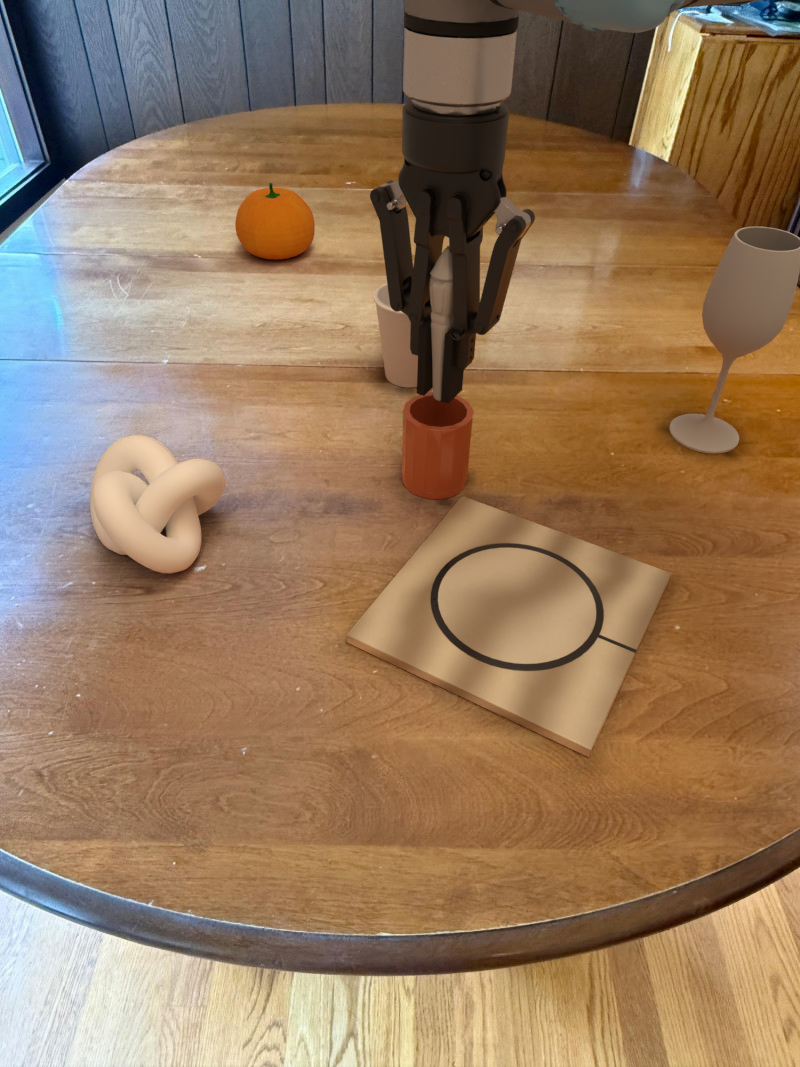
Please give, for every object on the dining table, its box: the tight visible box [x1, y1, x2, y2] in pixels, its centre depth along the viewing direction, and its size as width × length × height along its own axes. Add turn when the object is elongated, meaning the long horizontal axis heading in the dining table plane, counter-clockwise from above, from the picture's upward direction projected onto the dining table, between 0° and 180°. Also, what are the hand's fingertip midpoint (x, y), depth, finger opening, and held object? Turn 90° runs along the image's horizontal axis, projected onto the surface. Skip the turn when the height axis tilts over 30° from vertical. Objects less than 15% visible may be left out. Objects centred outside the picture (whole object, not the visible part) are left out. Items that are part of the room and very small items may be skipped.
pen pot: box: [401, 391, 474, 500], centre depth 74 cm, size 6×6×8 cm
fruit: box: [234, 182, 316, 261], centre depth 114 cm, size 12×12×10 cm
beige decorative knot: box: [89, 434, 227, 574], centre depth 66 cm, size 11×12×9 cm
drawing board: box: [346, 495, 672, 758], centre depth 63 cm, size 20×20×1 cm
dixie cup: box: [372, 282, 432, 388], centre depth 88 cm, size 8×8×10 cm
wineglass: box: [668, 226, 800, 455], centre depth 76 cm, size 8×8×21 cm
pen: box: [429, 245, 454, 401], centre depth 66 cm, size 2×3×14 cm
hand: (439, 391), depth 70 cm, fingers closed on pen, 2 cm apart
